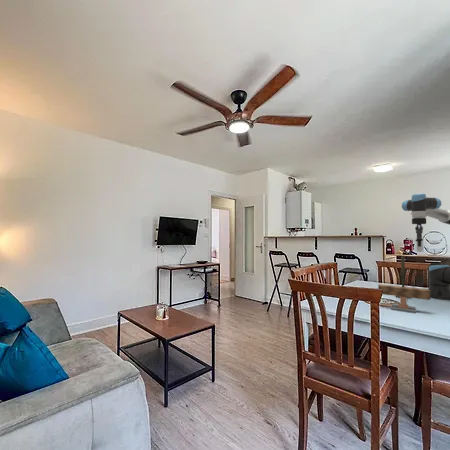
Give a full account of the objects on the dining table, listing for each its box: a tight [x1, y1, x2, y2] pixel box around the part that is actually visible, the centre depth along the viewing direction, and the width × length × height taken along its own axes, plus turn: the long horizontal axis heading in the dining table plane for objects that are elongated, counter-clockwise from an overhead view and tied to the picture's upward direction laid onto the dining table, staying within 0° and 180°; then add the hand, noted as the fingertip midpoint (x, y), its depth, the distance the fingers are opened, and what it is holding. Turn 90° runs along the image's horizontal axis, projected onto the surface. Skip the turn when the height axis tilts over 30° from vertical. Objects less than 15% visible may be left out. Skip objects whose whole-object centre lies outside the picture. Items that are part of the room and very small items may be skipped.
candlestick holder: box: [395, 255, 411, 300], centre depth 193 cm, size 9×9×30 cm
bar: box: [377, 284, 431, 301], centre depth 163 cm, size 26×5×5 cm, turn 55°
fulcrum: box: [390, 296, 416, 314], centre depth 163 cm, size 12×12×8 cm
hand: (419, 251), depth 171 cm, fingers open, 13 cm apart
